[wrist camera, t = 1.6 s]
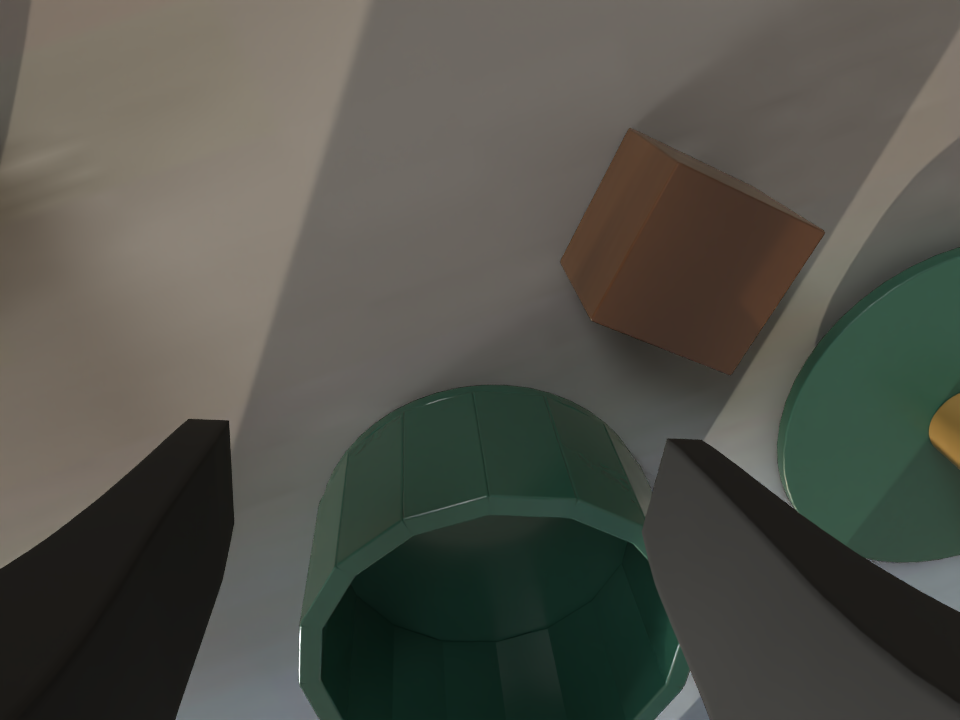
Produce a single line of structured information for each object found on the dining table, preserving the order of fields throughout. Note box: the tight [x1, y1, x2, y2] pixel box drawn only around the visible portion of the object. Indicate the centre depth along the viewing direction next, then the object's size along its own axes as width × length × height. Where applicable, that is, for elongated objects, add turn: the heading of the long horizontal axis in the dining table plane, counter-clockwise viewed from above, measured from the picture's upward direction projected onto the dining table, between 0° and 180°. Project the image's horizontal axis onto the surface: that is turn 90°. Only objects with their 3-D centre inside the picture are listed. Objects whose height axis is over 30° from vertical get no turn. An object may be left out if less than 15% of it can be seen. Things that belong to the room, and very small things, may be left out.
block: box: [560, 128, 825, 375], centre depth 19 cm, size 4×4×4 cm
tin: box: [298, 385, 690, 720], centre depth 23 cm, size 11×11×6 cm
